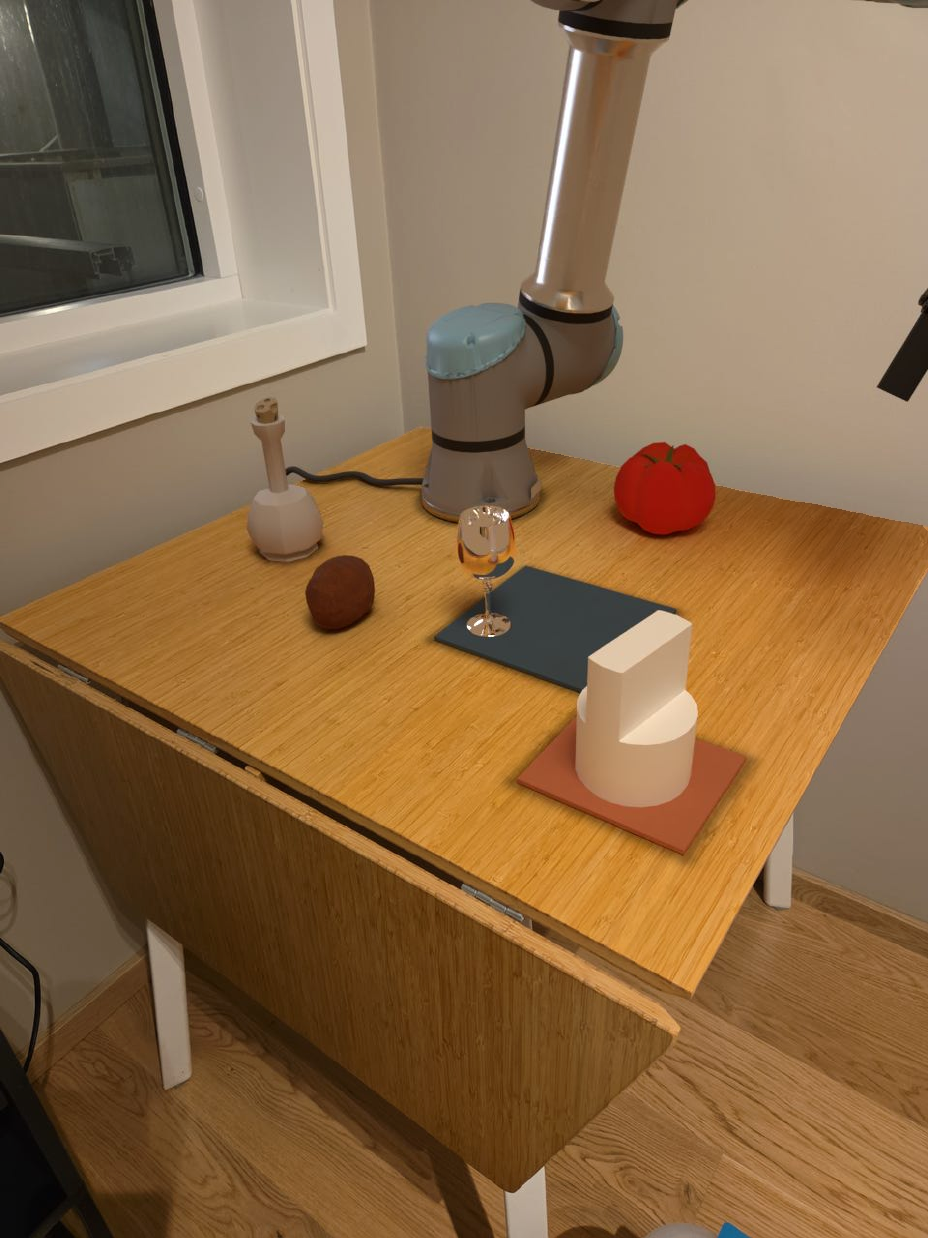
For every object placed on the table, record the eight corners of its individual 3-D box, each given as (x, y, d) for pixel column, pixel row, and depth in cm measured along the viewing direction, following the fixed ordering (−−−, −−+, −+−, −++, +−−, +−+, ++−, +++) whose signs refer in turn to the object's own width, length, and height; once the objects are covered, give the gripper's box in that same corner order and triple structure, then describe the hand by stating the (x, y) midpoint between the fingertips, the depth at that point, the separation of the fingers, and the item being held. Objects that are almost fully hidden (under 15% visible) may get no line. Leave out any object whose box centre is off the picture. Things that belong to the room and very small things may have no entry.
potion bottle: (339, 537, 109) (320, 392, 100) (298, 571, 103) (273, 418, 93) (279, 527, 113) (255, 385, 103) (236, 558, 106) (206, 409, 96)
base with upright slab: (621, 717, 77) (628, 595, 70) (713, 765, 71) (730, 637, 65) (551, 769, 71) (552, 642, 65) (645, 825, 66) (656, 692, 60)
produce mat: (516, 783, 71) (516, 778, 71) (590, 704, 79) (590, 700, 79) (683, 855, 64) (684, 850, 64) (745, 761, 72) (746, 756, 72)
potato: (289, 628, 92) (279, 572, 89) (344, 587, 99) (337, 534, 96) (343, 645, 89) (336, 588, 86) (396, 601, 96) (391, 547, 92)
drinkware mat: (434, 640, 89) (433, 636, 89) (525, 569, 101) (525, 565, 100) (596, 698, 80) (596, 694, 80) (676, 612, 91) (676, 608, 91)
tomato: (625, 499, 115) (629, 431, 110) (721, 513, 111) (729, 442, 106) (599, 534, 107) (602, 462, 102) (701, 550, 102) (709, 476, 98)
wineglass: (524, 614, 92) (523, 506, 85) (508, 644, 87) (505, 532, 81) (470, 606, 93) (465, 500, 87) (451, 636, 89) (445, 525, 82)
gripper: (1274, 106, 50) (1034, 451, 58) (1061, 164, 74) (910, 405, 81) (1154, 47, 50) (929, 402, 58) (979, 124, 73) (835, 369, 81)
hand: (918, 404), depth 70 cm, fingers open, 13 cm apart
